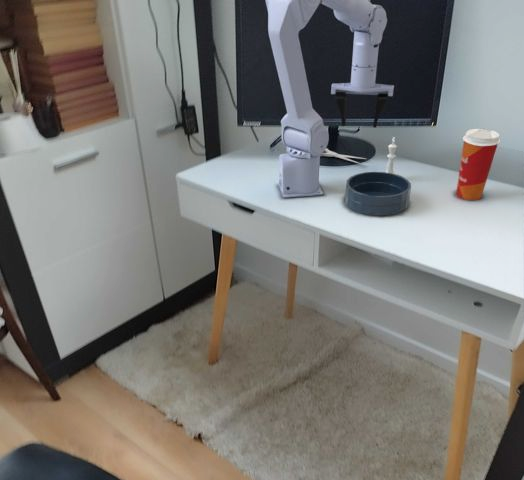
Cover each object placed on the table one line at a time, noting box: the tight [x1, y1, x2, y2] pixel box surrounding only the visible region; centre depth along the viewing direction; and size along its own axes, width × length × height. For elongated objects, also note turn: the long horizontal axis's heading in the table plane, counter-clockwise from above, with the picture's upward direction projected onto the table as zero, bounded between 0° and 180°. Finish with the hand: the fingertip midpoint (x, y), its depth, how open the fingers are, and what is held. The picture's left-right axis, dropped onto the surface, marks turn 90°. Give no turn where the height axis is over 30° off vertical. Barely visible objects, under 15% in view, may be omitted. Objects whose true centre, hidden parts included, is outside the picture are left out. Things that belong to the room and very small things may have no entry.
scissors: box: [320, 147, 366, 165], centre depth 147 cm, size 11×1×20 cm
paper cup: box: [456, 128, 501, 201], centre depth 122 cm, size 8×8×14 cm
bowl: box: [344, 171, 412, 216], centre depth 123 cm, size 14×14×4 cm
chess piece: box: [384, 136, 399, 175], centre depth 132 cm, size 5×5×10 cm
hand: (359, 125), depth 135 cm, fingers open, 7 cm apart
